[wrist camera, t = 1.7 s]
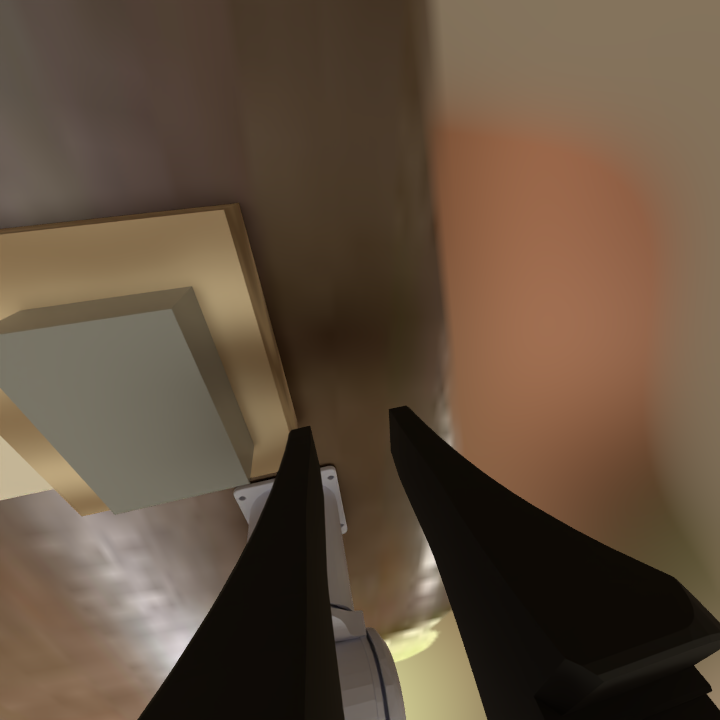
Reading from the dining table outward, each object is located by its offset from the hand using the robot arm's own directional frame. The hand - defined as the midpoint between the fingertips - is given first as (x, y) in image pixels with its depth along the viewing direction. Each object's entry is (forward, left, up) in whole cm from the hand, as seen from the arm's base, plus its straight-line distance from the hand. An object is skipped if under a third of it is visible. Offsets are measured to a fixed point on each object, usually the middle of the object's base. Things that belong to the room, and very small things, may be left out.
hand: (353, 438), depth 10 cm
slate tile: (0, +8, -5) cm, 10 cm away
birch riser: (0, +9, -9) cm, 13 cm away
